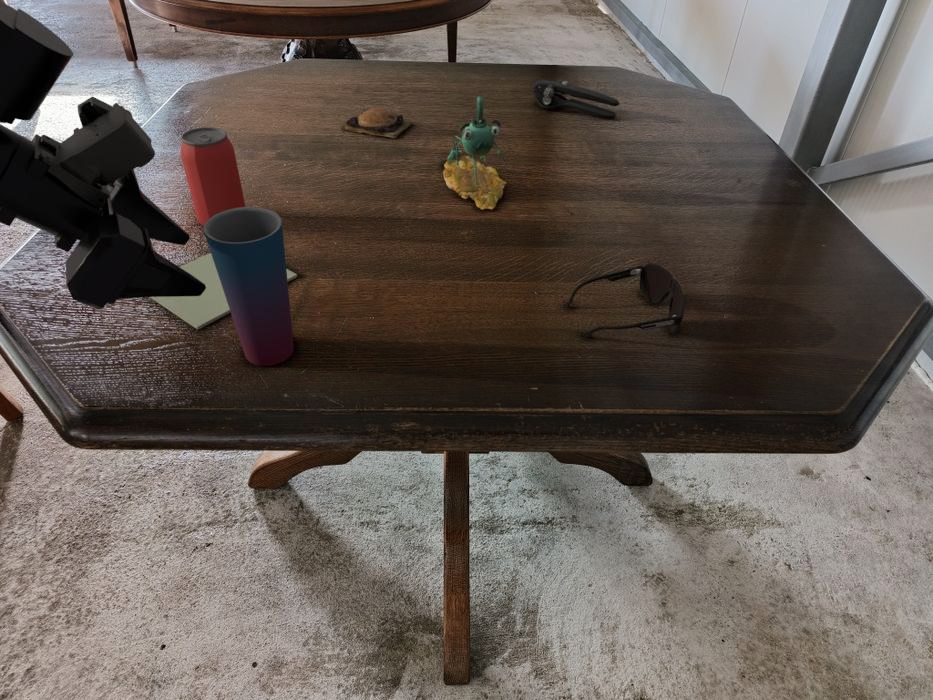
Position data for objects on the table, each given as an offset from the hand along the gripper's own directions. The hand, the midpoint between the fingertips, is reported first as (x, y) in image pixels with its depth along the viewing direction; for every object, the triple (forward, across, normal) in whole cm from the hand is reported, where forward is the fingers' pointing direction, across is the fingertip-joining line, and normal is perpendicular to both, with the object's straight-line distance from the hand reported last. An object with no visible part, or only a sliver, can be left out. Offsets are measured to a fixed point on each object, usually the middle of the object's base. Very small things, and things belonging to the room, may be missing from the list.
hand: (194, 264), depth 57 cm
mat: (+10, +15, +7) cm, 19 cm away
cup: (+12, 0, +5) cm, 13 cm away
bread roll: (+36, +56, -18) cm, 69 cm away
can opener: (+64, +50, -46) cm, 93 cm away
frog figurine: (+39, +28, -22) cm, 53 cm away
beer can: (+12, +31, +5) cm, 33 cm away
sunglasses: (+39, -10, -22) cm, 46 cm away
